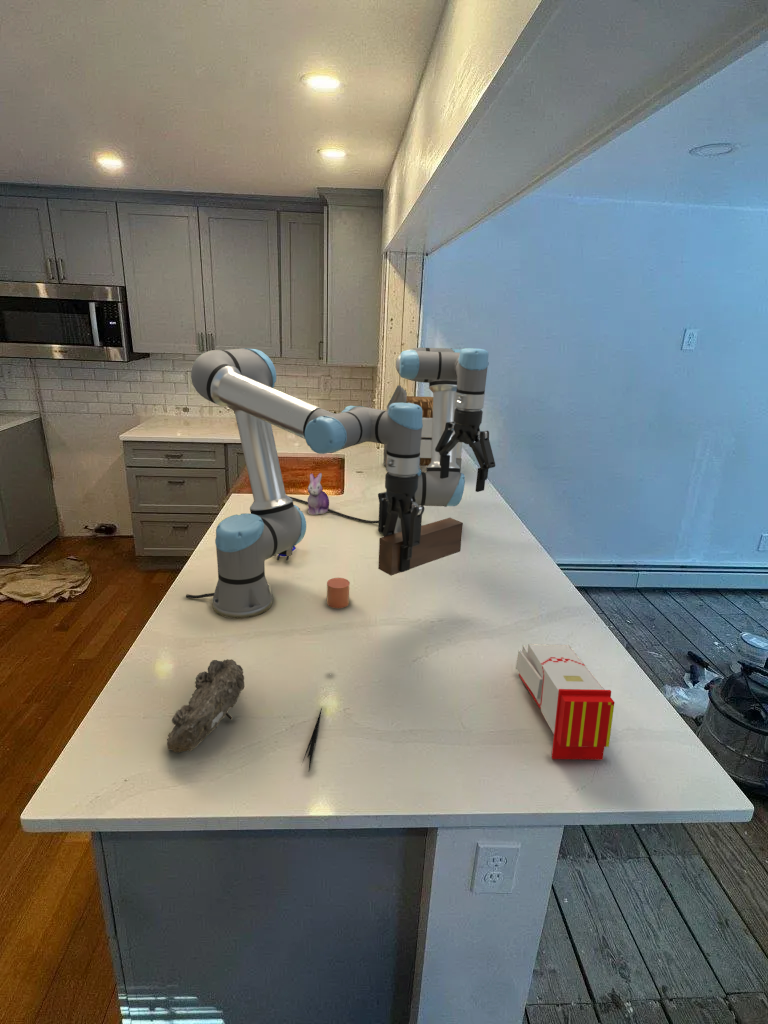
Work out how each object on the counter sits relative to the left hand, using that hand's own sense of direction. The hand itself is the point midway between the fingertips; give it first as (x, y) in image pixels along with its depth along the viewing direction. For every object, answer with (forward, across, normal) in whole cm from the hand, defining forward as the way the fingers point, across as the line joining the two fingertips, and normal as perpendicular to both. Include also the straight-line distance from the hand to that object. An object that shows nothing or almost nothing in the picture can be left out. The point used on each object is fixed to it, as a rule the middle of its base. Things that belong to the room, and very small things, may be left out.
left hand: (396, 566), depth 136 cm
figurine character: (+17, -53, +1) cm, 55 cm away
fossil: (+17, +4, -49) cm, 52 cm away
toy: (+17, +43, +5) cm, 46 cm away
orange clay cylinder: (+17, -18, -4) cm, 25 cm away
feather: (+17, +17, -34) cm, 41 cm away
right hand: (-12, -10, +33) cm, 36 cm away
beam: (0, 0, +8) cm, 8 cm away
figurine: (+17, -80, +32) cm, 88 cm away
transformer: (+17, -98, +104) cm, 143 cm away
